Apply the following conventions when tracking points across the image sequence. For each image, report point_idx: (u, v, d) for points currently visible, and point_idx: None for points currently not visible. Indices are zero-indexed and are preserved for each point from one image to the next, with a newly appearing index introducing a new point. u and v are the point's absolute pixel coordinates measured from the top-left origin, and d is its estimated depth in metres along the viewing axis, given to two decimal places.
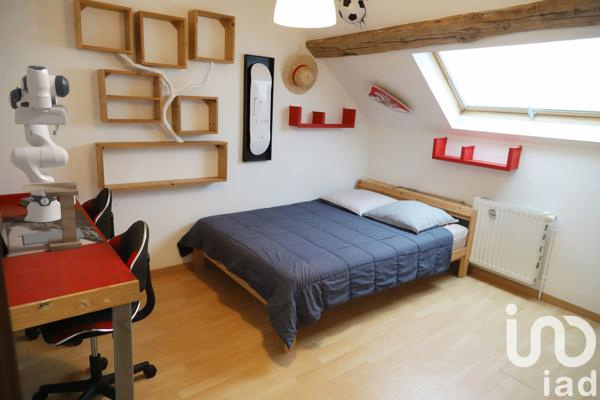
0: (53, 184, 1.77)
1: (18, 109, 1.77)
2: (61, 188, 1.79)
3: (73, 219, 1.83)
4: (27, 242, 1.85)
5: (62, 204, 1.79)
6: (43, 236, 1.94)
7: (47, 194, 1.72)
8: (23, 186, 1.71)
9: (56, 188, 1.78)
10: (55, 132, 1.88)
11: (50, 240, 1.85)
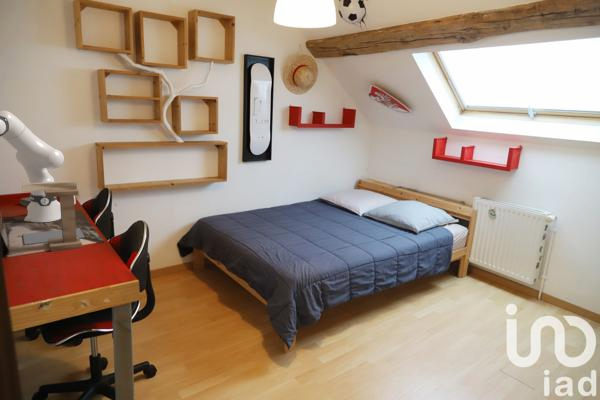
0: (53, 184, 1.77)
1: None
2: (61, 188, 1.79)
3: (73, 219, 1.83)
4: (27, 242, 1.85)
5: (62, 204, 1.79)
6: (43, 236, 1.94)
7: (47, 194, 1.72)
8: (23, 186, 1.71)
9: (56, 188, 1.78)
10: None
11: (50, 240, 1.85)
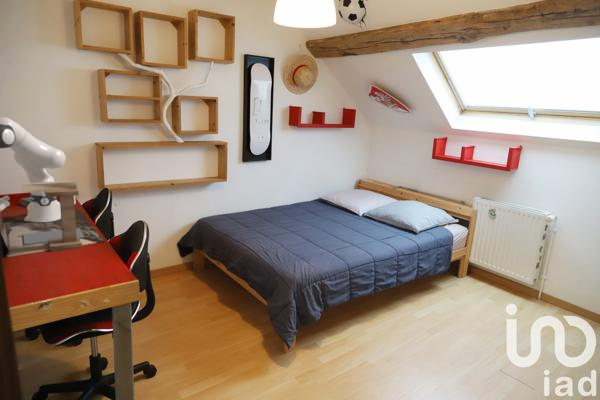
0: (53, 184, 1.77)
1: None
2: (61, 188, 1.79)
3: (73, 219, 1.83)
4: (27, 242, 1.85)
5: (62, 204, 1.79)
6: (43, 236, 1.94)
7: (47, 194, 1.72)
8: (23, 186, 1.71)
9: (56, 188, 1.78)
10: None
11: (50, 240, 1.85)
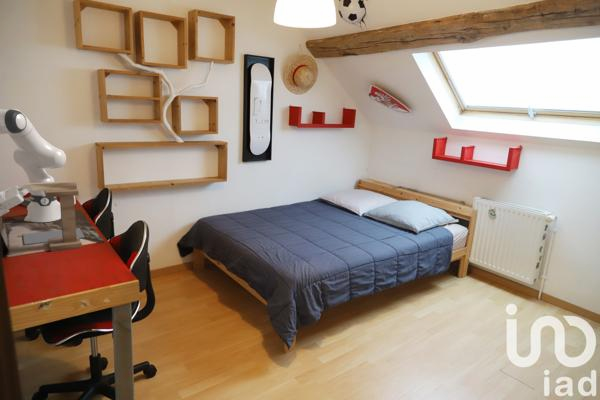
0: (53, 184, 1.77)
1: None
2: (61, 188, 1.79)
3: (73, 219, 1.83)
4: (27, 242, 1.85)
5: (62, 204, 1.79)
6: (43, 236, 1.94)
7: (47, 194, 1.72)
8: (23, 186, 1.71)
9: (56, 188, 1.78)
10: None
11: (50, 240, 1.85)
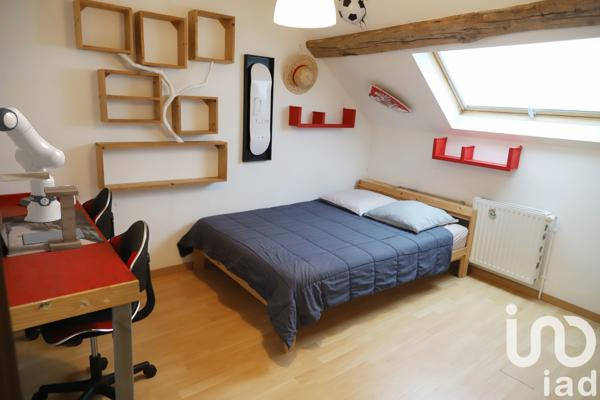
0: (25, 174, 1.74)
1: None
2: (33, 178, 1.76)
3: (73, 219, 1.83)
4: (27, 242, 1.85)
5: (62, 204, 1.79)
6: (43, 236, 1.94)
7: (47, 194, 1.72)
8: None
9: (28, 178, 1.75)
10: None
11: (50, 240, 1.85)
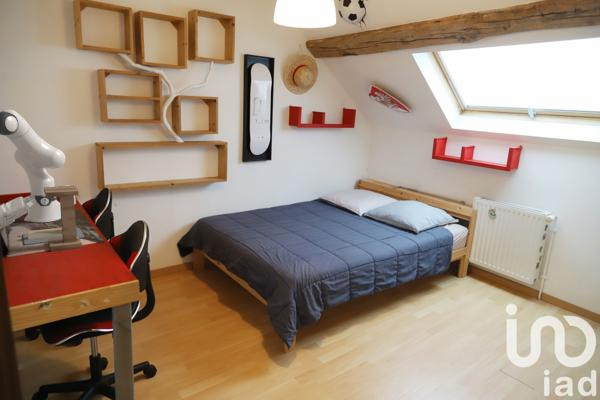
0: (55, 231, 1.95)
1: None
2: None
3: (73, 219, 1.83)
4: (27, 242, 1.85)
5: (62, 204, 1.79)
6: None
7: (47, 194, 1.72)
8: (28, 234, 1.88)
9: (58, 234, 1.96)
10: None
11: (50, 240, 1.85)
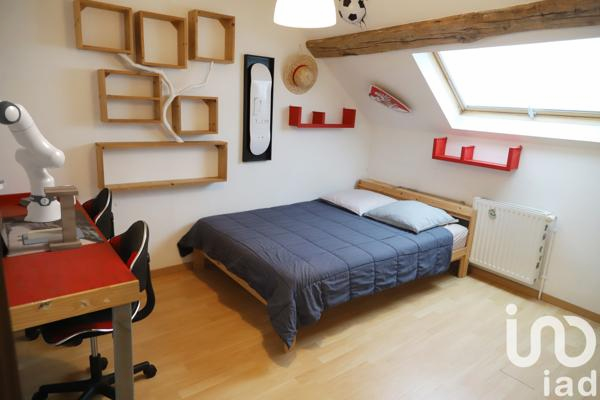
0: (55, 231, 1.95)
1: None
2: None
3: (73, 219, 1.83)
4: (27, 242, 1.85)
5: (62, 204, 1.79)
6: None
7: (47, 194, 1.72)
8: (28, 234, 1.88)
9: (58, 234, 1.96)
10: None
11: (50, 240, 1.85)
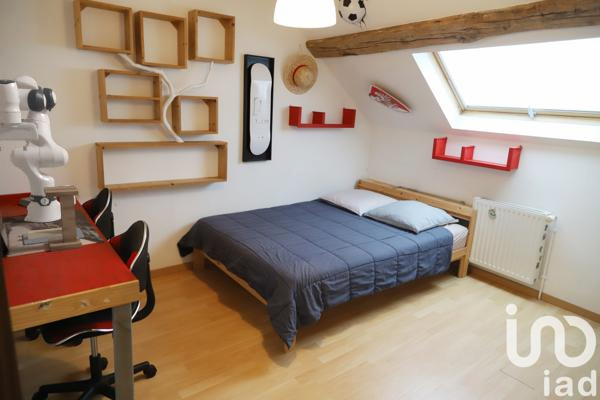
0: (55, 231, 1.95)
1: None
2: None
3: (73, 219, 1.83)
4: (27, 242, 1.85)
5: (62, 204, 1.79)
6: None
7: (47, 194, 1.72)
8: (28, 234, 1.88)
9: (58, 234, 1.96)
10: (25, 148, 1.82)
11: (50, 240, 1.85)
